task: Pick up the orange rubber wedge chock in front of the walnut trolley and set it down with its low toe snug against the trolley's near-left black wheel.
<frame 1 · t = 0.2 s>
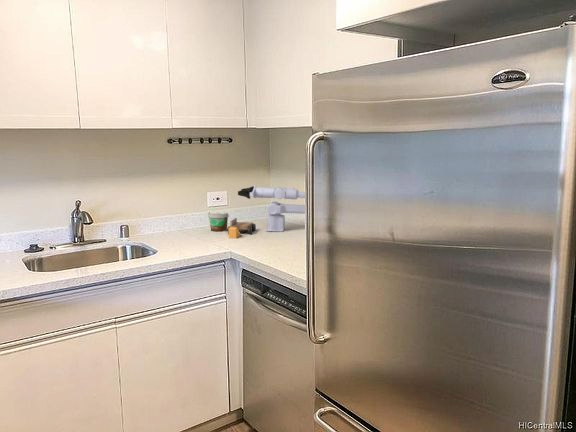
hand: (239, 192, 257), 22 cm above the worktop, tool horizontal, fingers open, 7 cm apart
food container: (217, 231, 259), on the worktop
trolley: (242, 232, 255), on the worktop
chock: (234, 236, 244), on the worktop
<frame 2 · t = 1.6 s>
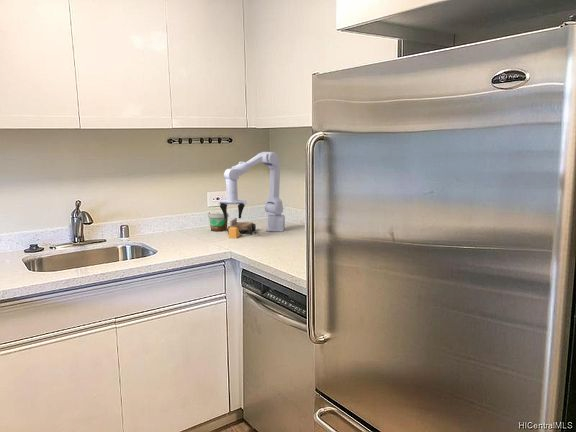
hand: (232, 218, 240), 10 cm above the worktop, tool pointing down, fingers open, 7 cm apart
nothing on the worktop moved.
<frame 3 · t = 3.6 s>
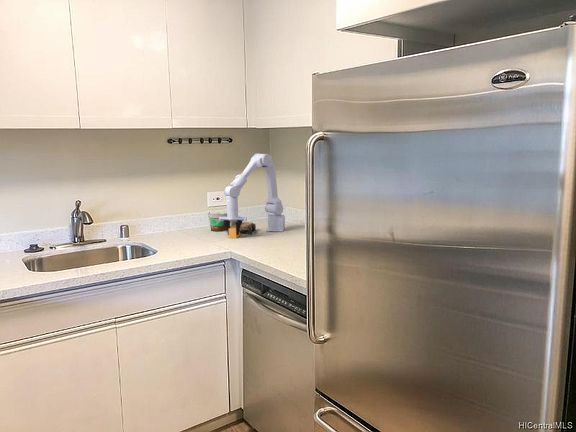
hand: (233, 234, 241), 2 cm above the worktop, tool pointing down, fingers closed on chock, 4 cm apart
chock: (234, 236, 244), on the worktop, touching gripper
everything else where it was.
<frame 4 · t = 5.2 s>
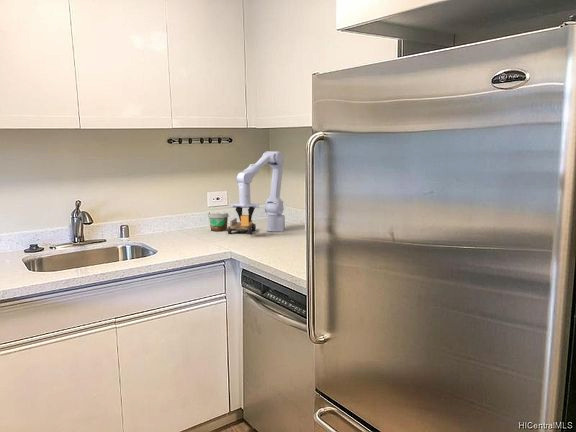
hand: (245, 221, 239), 9 cm above the worktop, tool pointing down, fingers closed on chock, 4 cm apart
chock: (246, 224, 242), point 7 cm above the worktop, touching gripper
everything else where it was.
when the fingers open (3 cm above the worktop, at t = 7.1 s): chock stays where it is, on the worktop.
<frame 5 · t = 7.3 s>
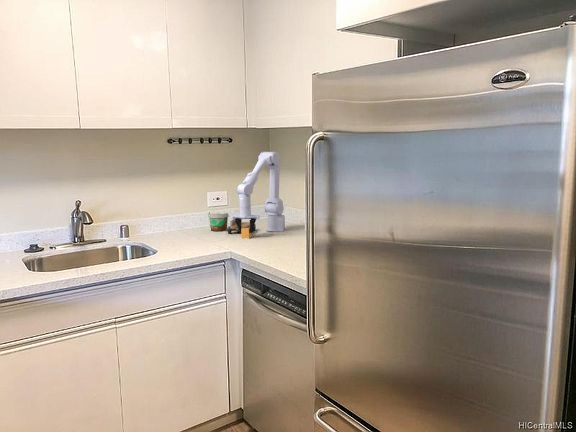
hand: (245, 232, 240), 3 cm above the worktop, tool pointing down, fingers open, 5 cm apart
chock: (247, 236, 243), on the worktop
everything else where it was.
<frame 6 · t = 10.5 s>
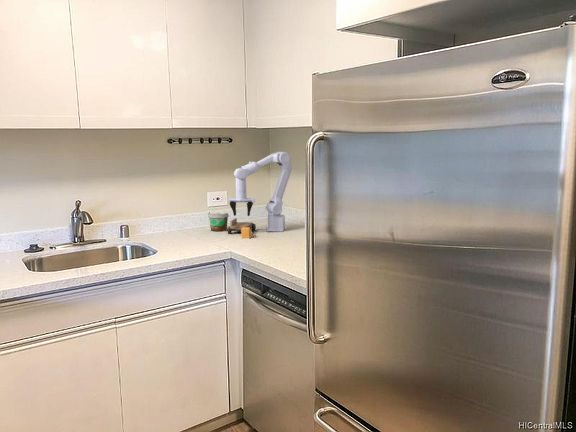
hand: (241, 215, 250), 10 cm above the worktop, tool pointing down, fingers open, 7 cm apart
nothing on the worktop moved.
at the end: chock 0.1 cm from the target spot, on the worktop; chock tilted 0°; the gripper is holding nothing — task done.
